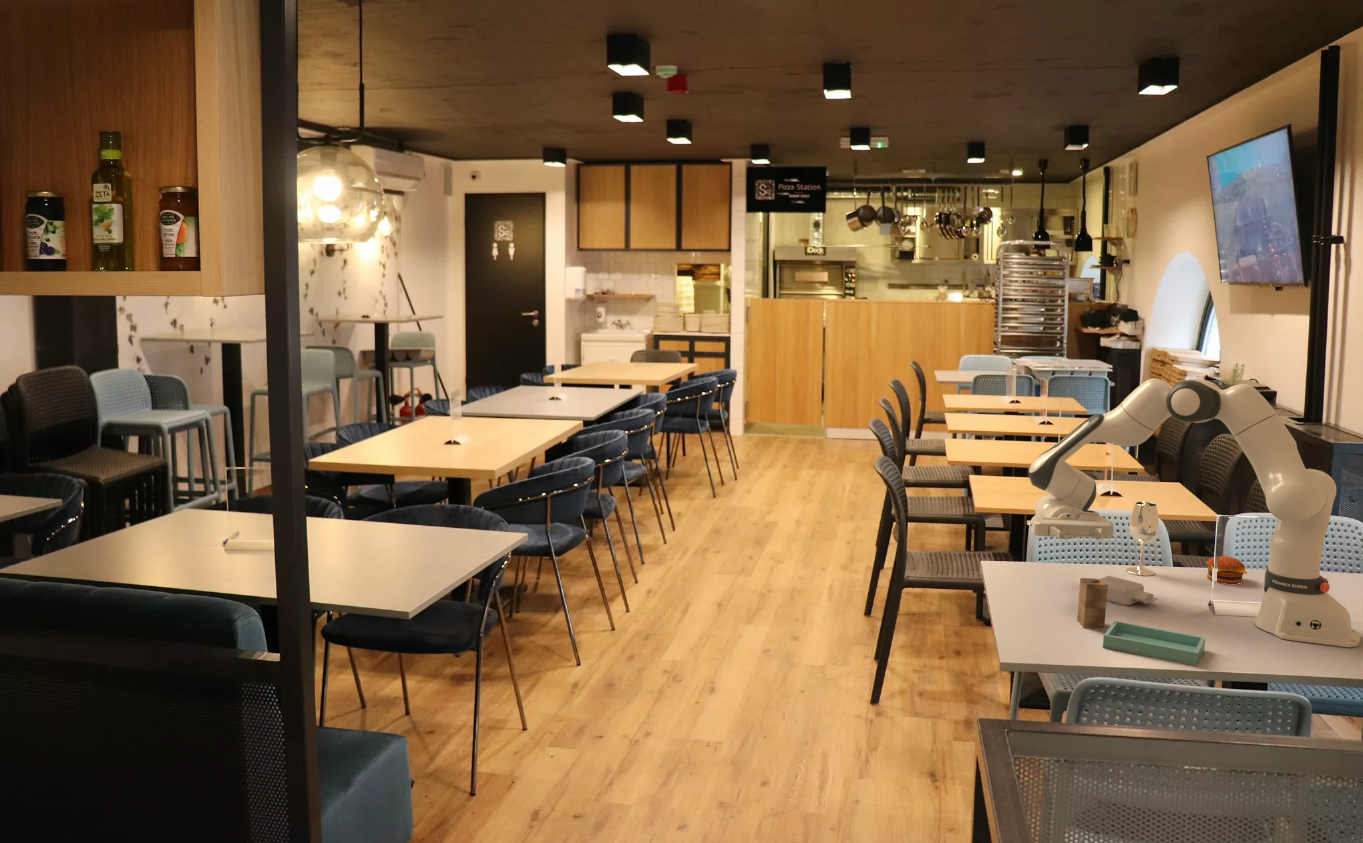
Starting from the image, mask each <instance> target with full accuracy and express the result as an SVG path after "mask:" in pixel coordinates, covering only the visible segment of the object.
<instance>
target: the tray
mask: <svg viewBox="0 0 1363 843" xmlns="http://www.w3.org/2000/svg"><path fill="white" fill-rule="evenodd" d="M1205 645H1206V637H1203V636H1199V635H1192V634H1188V633H1184V632H1183V633H1181V632H1178V631H1172V630H1171V631H1170V630H1166V629H1161V628H1155V627H1150V626H1149V627H1148V626H1143V625H1139V624H1133V623H1129V622H1123V621H1118V620H1117V621H1116V620H1114V621H1113V622H1112V624H1111V625H1110V626H1109V627H1108V629H1107V630H1106V632H1105V633H1104V634H1103V641H1102V648H1103V649H1108V650H1113V651H1117V652H1118V651H1119V652H1123V653H1128V654H1133V655H1139V656H1142V657H1144V656H1145V657H1148V658H1153V659H1154V658H1155V659H1158V660H1164V661H1169V662H1175V663H1180V664H1185V665H1189V666H1194V667H1197V666H1198V665H1199V662H1200V660H1201V659H1202V657H1203V654H1204V652H1205V649H1206V648H1205V647H1206V646H1205Z"/></svg>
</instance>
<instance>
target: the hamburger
mask: <svg viewBox="0 0 1363 843" xmlns="http://www.w3.org/2000/svg"><path fill="white" fill-rule="evenodd" d="M1205 563H1206V564H1207V565H1208V566H1207V571H1208V572H1207V574H1206V577H1207V579H1208V580H1209V581H1211V582H1213V581H1212V569H1213V568H1214V557H1213V558H1212V557H1211V558H1210V559H1207V561H1206V562H1205ZM1244 574H1245V575H1246V574H1247V575H1248V572H1247V570H1246V566H1245V564H1244V563H1243V562H1242V561H1240V560H1239V559H1237V558H1235V557H1232V556H1227V555H1226V556H1225V555H1222V556H1220V555H1219V558H1218V572H1217V582H1219V583H1218V584H1221V583H1226V584H1225V585H1228V584H1237V585H1239V584H1238V583H1241V582H1242V583H1243V580H1244V579H1243V576H1244ZM1242 583H1241V584H1242Z"/></svg>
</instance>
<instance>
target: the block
mask: <svg viewBox="0 0 1363 843" xmlns="http://www.w3.org/2000/svg"><path fill="white" fill-rule="evenodd" d="M1079 579H1080V580H1079V591H1078V592H1079V593H1078V594H1079V595H1078V604H1077V605H1078V606H1077V618H1076V622H1077V623H1078V624H1079V625H1080V626H1081V627H1082V628H1083V629H1105V625H1106V623H1105V622H1106V612H1107V611H1106V610H1107V602H1108V601H1107V589H1108V585H1107V584H1106V583H1105V582H1104V581H1103V580H1102V579H1101V578H1094V577H1093V578H1092V577H1089V578H1088V577H1080V578H1079Z"/></svg>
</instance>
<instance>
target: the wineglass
mask: <svg viewBox="0 0 1363 843" xmlns="http://www.w3.org/2000/svg"><path fill="white" fill-rule="evenodd" d="M1128 531H1129V534H1130V536H1131V537H1132V538H1133V540H1135V541H1136V542H1137V543H1139V545H1140V555H1139V556H1140V557H1139V564H1138V566H1137V567H1136V566H1135V567H1134V566H1133V567H1127V568H1126V569H1125V570H1126V572H1127V573H1128V574H1132V575H1136V576H1143V577H1146V576H1147V577H1149V576H1153V575H1155V571H1153V570H1152V569H1149V568H1145V567H1144V565H1143V559H1144V548H1145V545H1146V544H1149V543H1150V542H1153V541H1155V539H1156V538H1157V536H1158V535H1159V531H1160V520H1159V512H1158V505H1157V504H1156V503H1153V502H1149V501H1136V502H1135V503H1134V506H1133V510H1132V514H1131V516H1130V520H1129V525H1128Z"/></svg>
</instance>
